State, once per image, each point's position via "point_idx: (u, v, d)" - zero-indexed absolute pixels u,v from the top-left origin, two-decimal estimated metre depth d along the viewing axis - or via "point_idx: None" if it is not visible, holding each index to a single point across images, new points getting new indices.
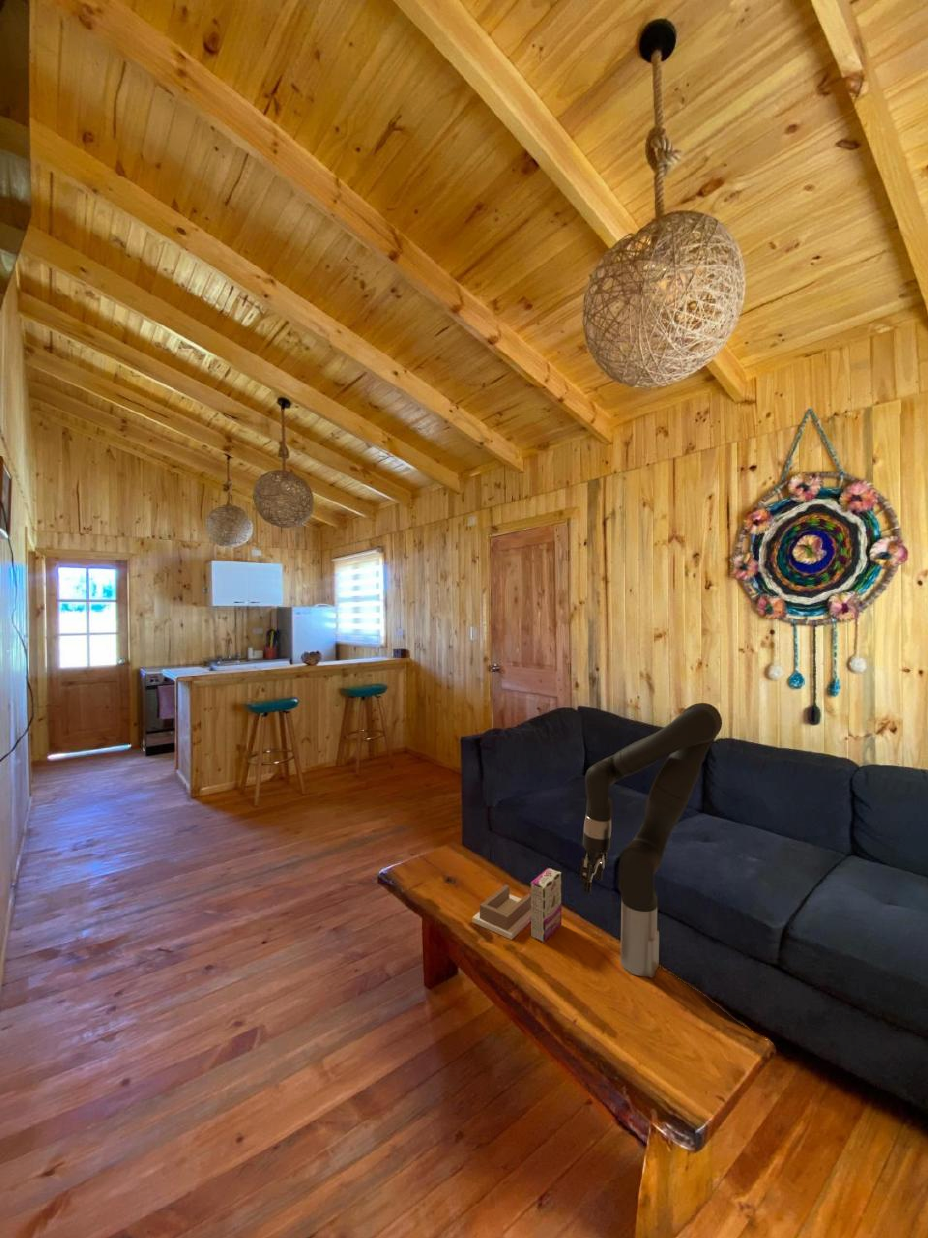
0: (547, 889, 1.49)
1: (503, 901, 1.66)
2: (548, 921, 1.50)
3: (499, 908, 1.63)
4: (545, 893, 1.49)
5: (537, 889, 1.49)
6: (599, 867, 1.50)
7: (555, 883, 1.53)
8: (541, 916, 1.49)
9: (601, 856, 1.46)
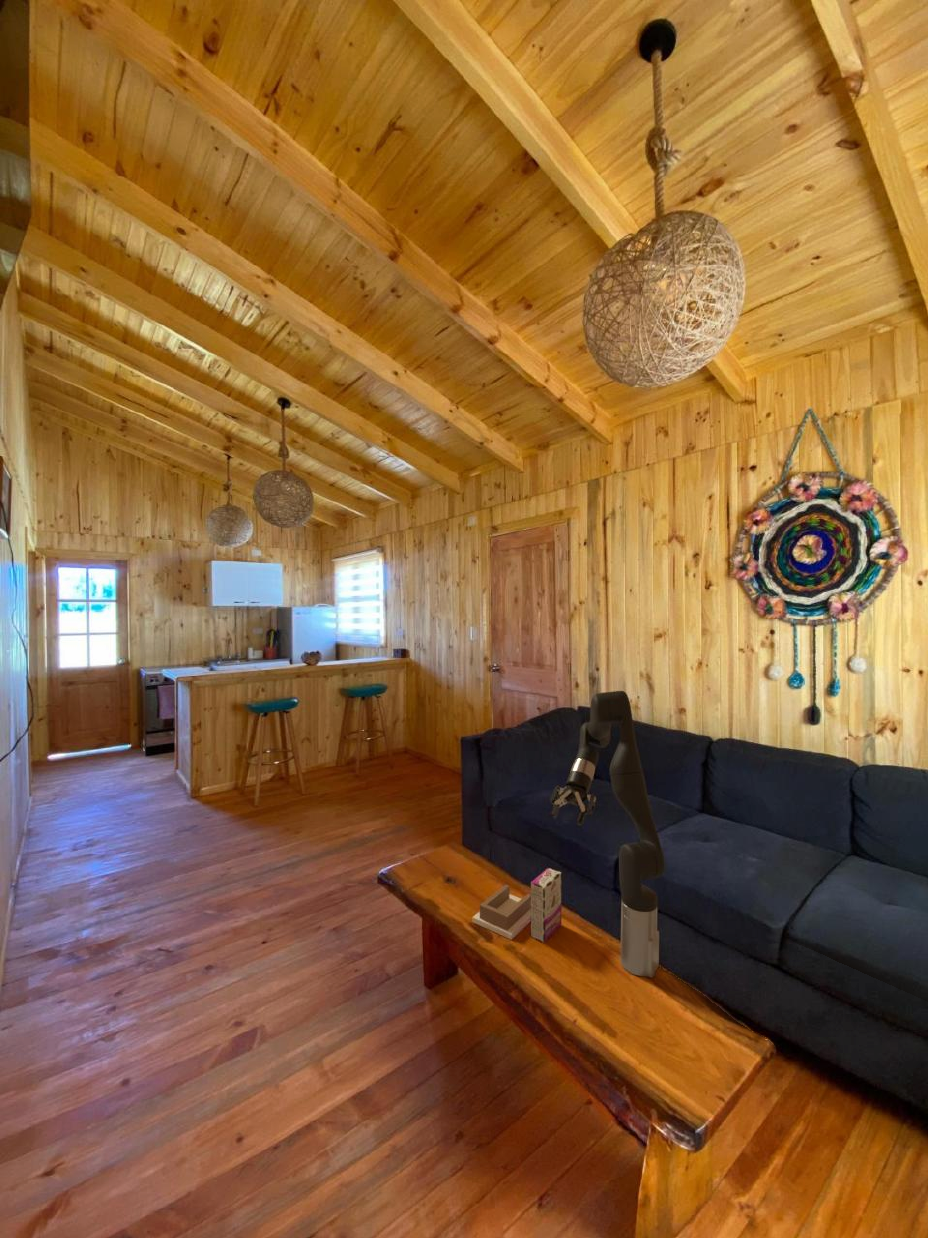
0: (547, 889, 1.49)
1: (503, 901, 1.66)
2: (548, 921, 1.50)
3: (499, 908, 1.63)
4: (545, 893, 1.49)
5: (537, 889, 1.49)
6: None
7: (555, 883, 1.53)
8: (540, 916, 1.49)
9: None
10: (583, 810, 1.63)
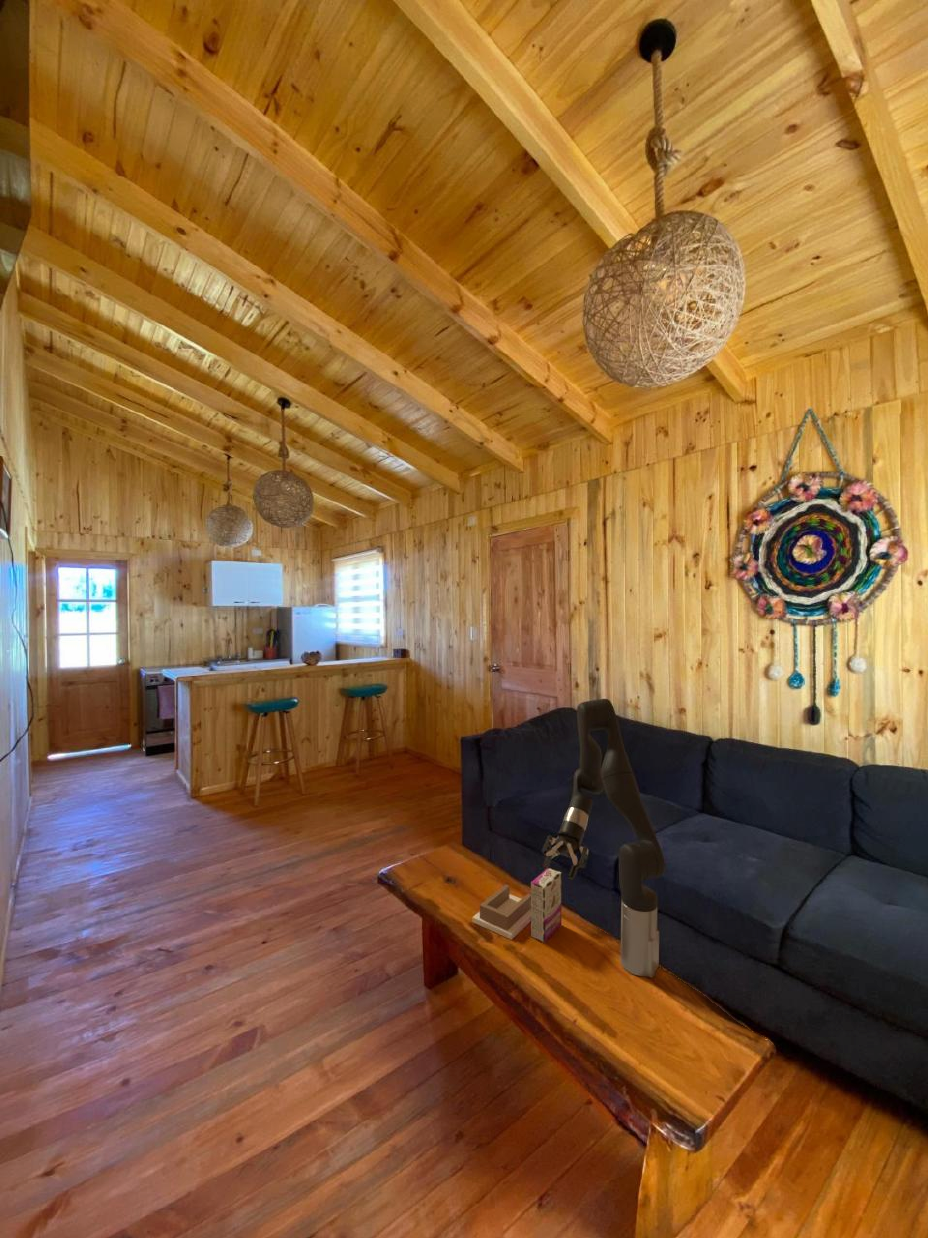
0: (547, 889, 1.49)
1: (503, 901, 1.66)
2: (548, 921, 1.50)
3: (499, 908, 1.63)
4: (545, 893, 1.49)
5: (537, 889, 1.49)
6: None
7: (555, 883, 1.53)
8: (540, 916, 1.49)
9: None
10: (575, 863, 1.58)
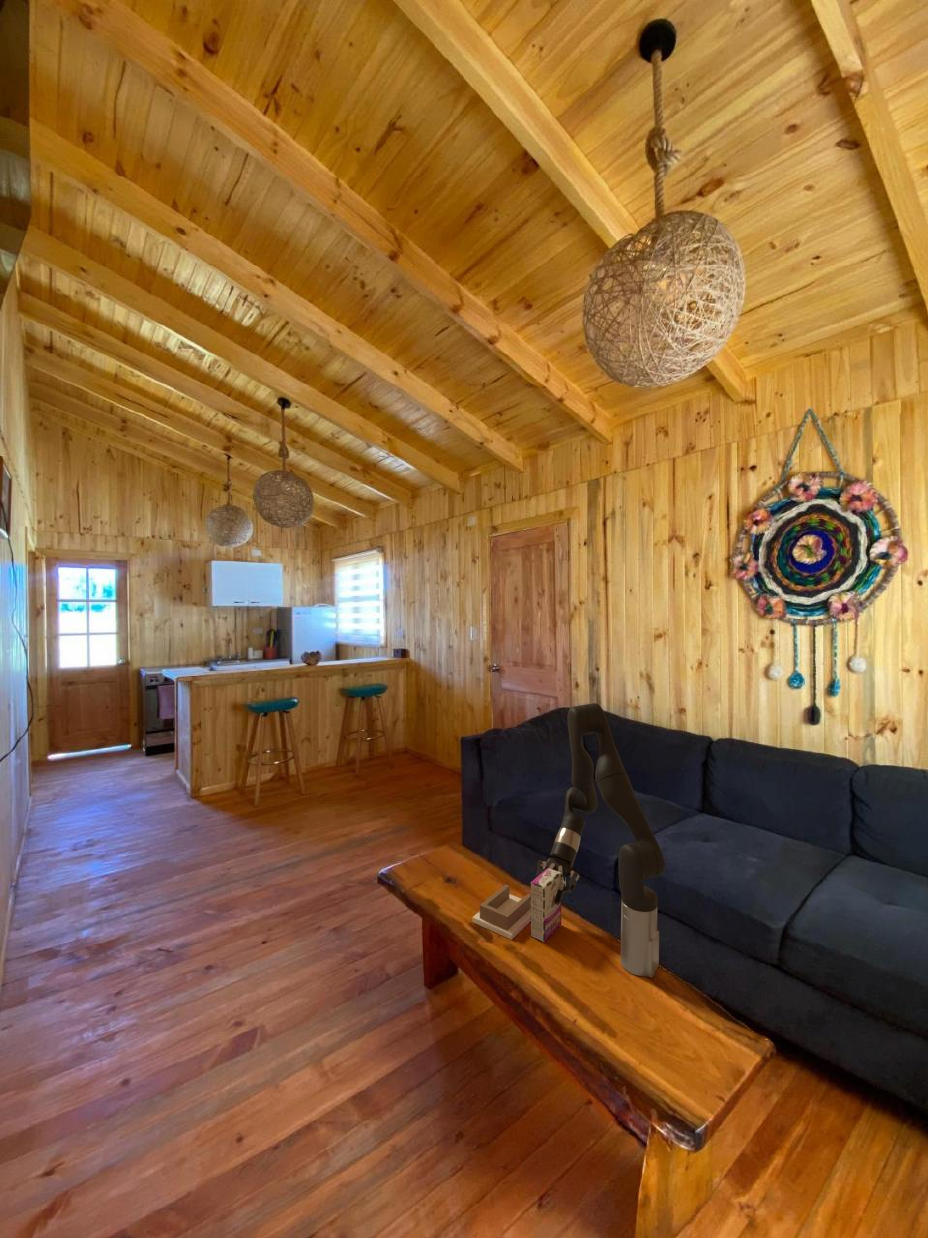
0: (547, 889, 1.49)
1: (503, 901, 1.66)
2: (548, 921, 1.50)
3: (499, 908, 1.63)
4: (545, 893, 1.49)
5: (537, 889, 1.49)
6: None
7: (555, 883, 1.53)
8: (540, 915, 1.49)
9: None
10: (561, 888, 1.54)
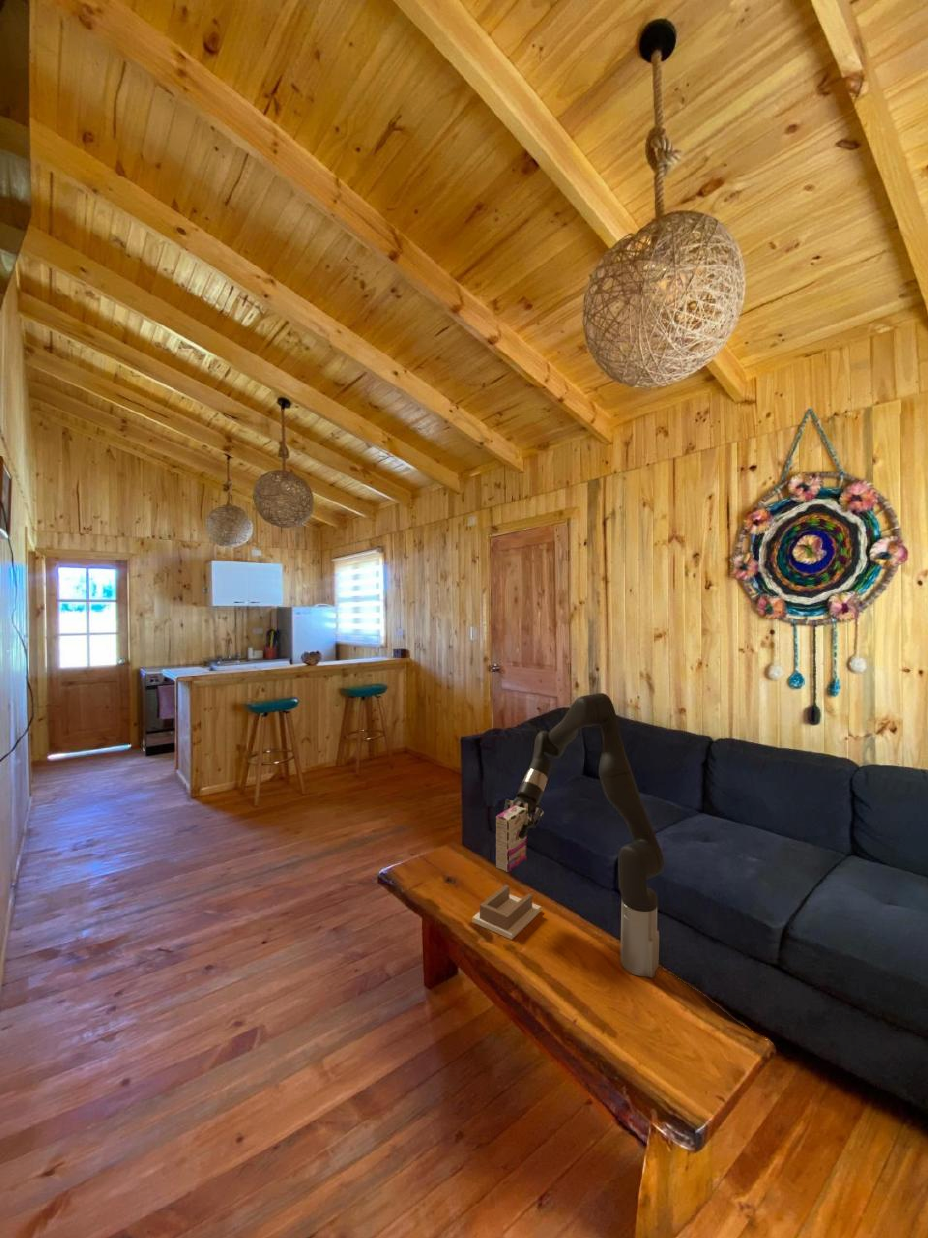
0: (511, 822, 1.56)
1: (503, 901, 1.66)
2: (513, 853, 1.57)
3: (499, 908, 1.63)
4: (509, 826, 1.55)
5: (502, 821, 1.56)
6: None
7: (519, 817, 1.60)
8: (505, 847, 1.55)
9: None
10: (526, 823, 1.61)
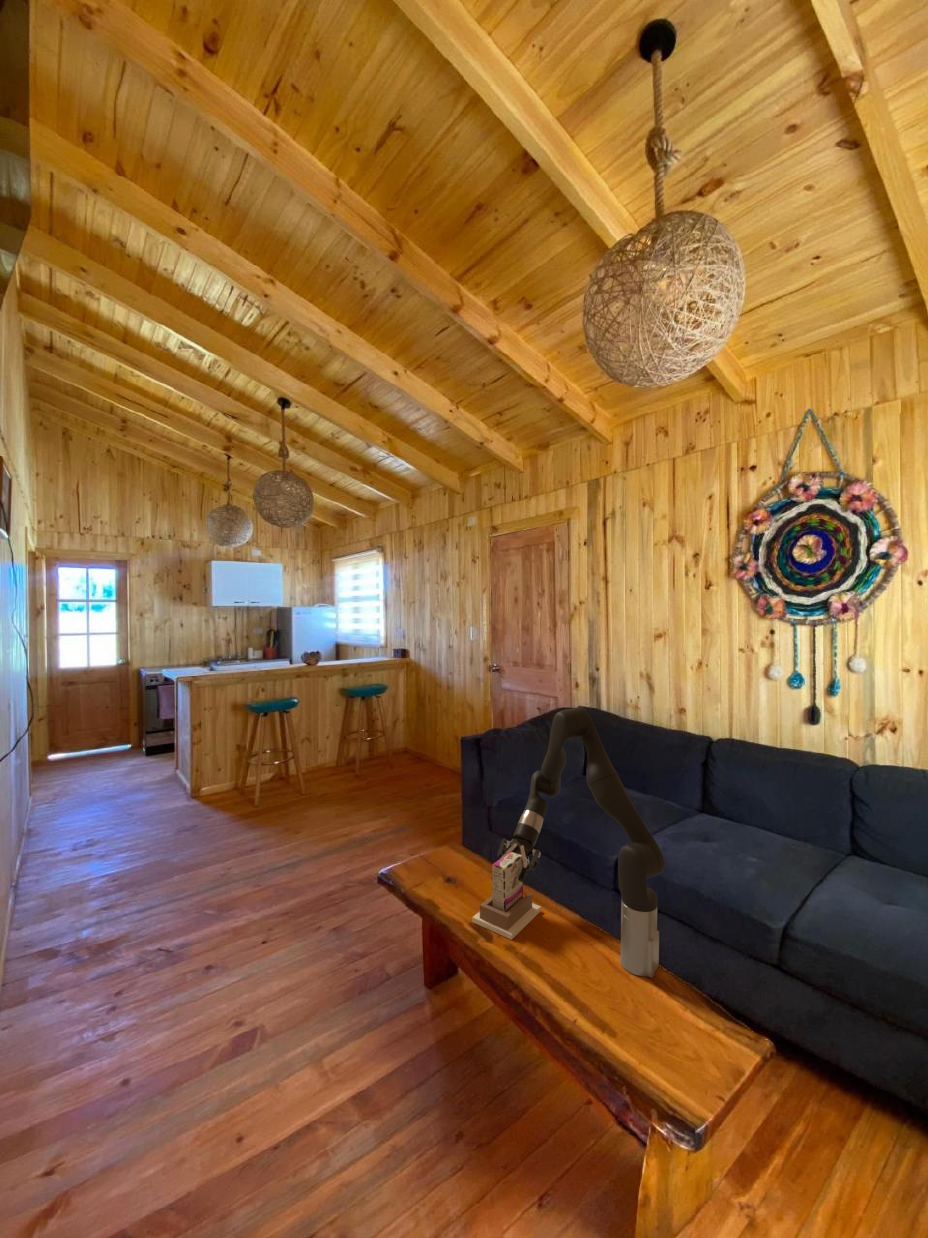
0: (507, 871, 1.56)
1: None
2: (509, 901, 1.57)
3: None
4: (506, 874, 1.56)
5: (498, 870, 1.56)
6: None
7: (515, 865, 1.60)
8: (501, 896, 1.56)
9: None
10: (525, 866, 1.61)
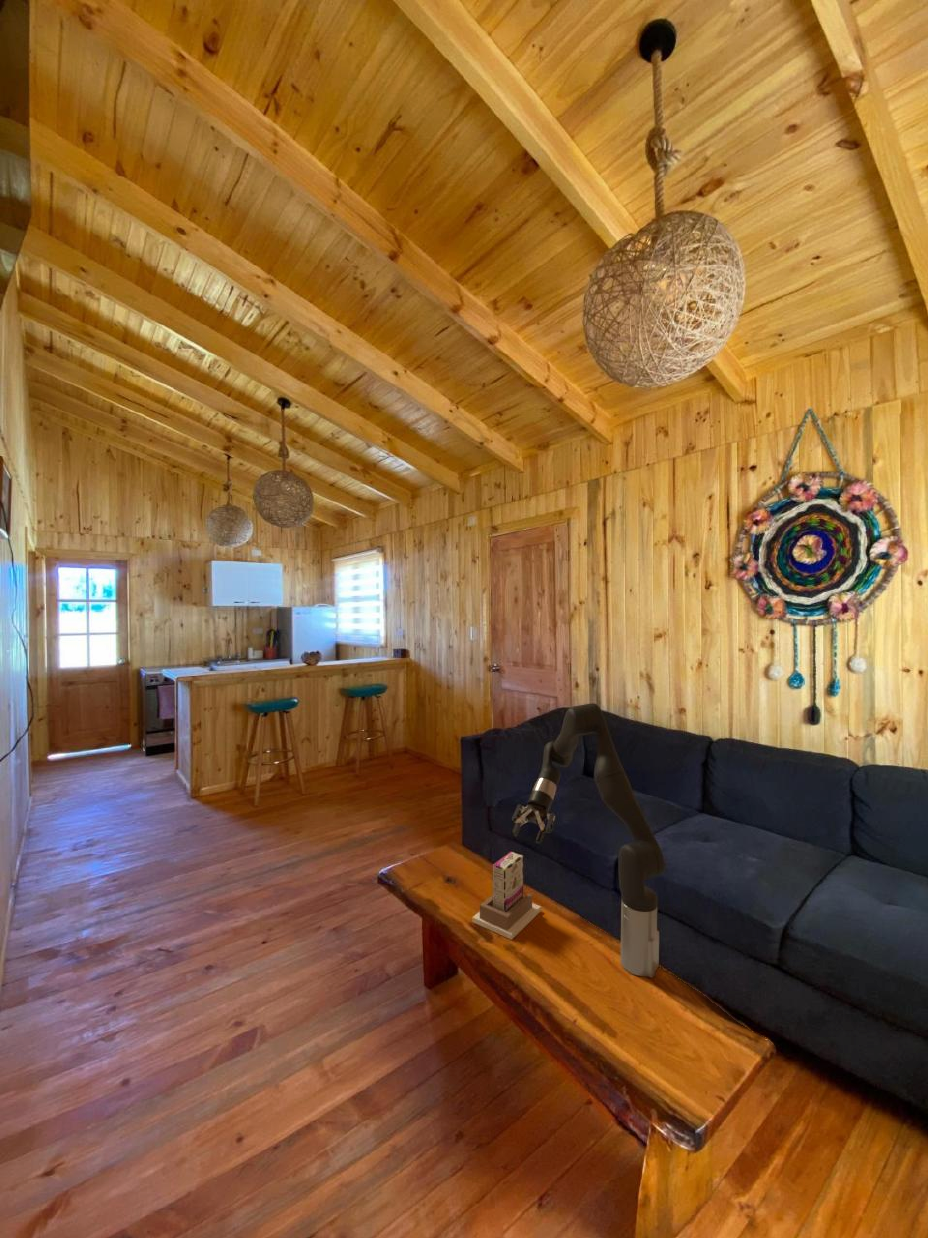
0: (508, 871, 1.56)
1: None
2: (509, 902, 1.57)
3: None
4: (506, 875, 1.56)
5: (499, 870, 1.56)
6: None
7: (516, 865, 1.60)
8: (501, 896, 1.56)
9: None
10: (542, 829, 1.68)
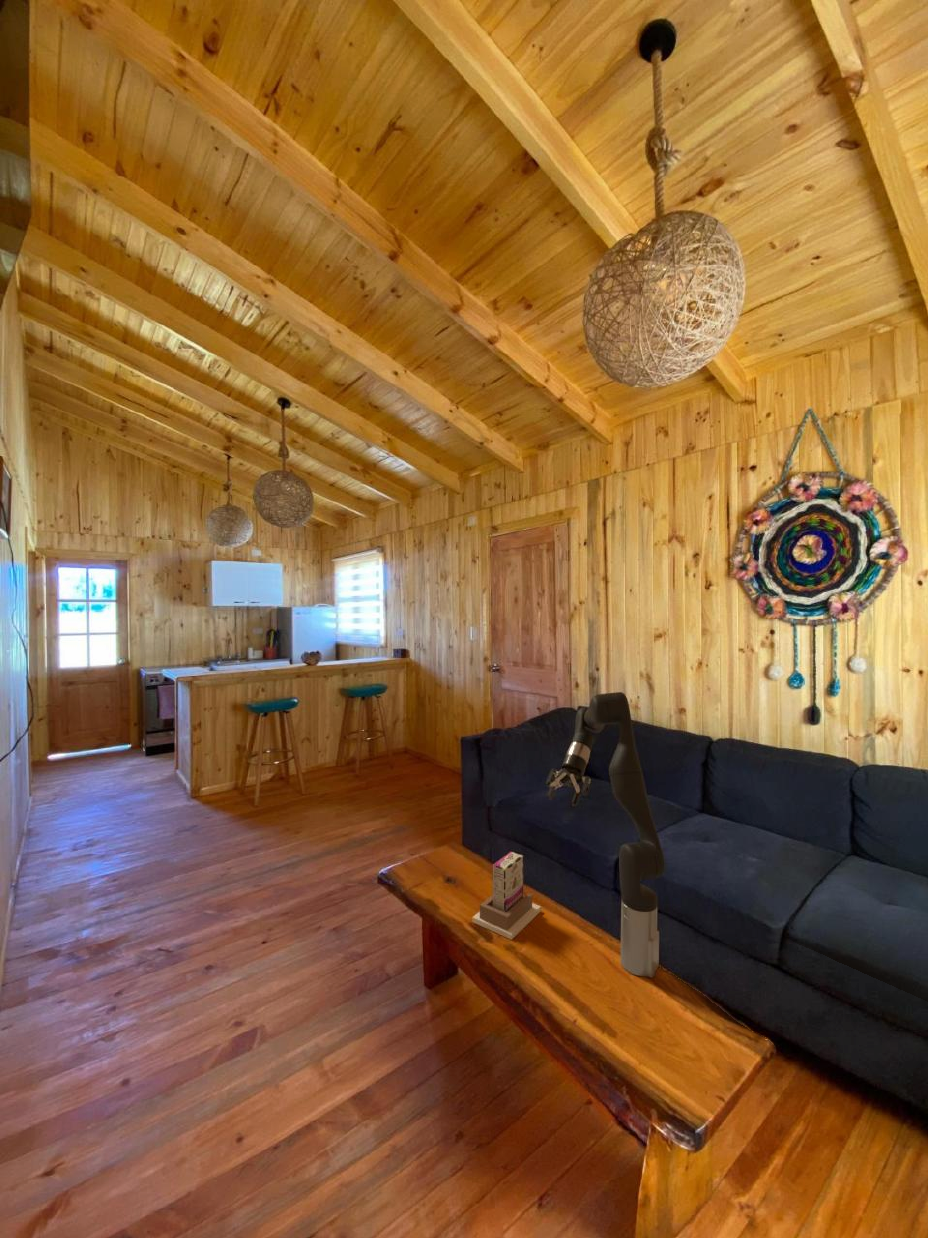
0: (508, 871, 1.56)
1: None
2: (509, 902, 1.57)
3: None
4: (506, 875, 1.56)
5: (499, 870, 1.56)
6: None
7: (516, 865, 1.60)
8: (501, 896, 1.56)
9: None
10: (578, 791, 1.66)
